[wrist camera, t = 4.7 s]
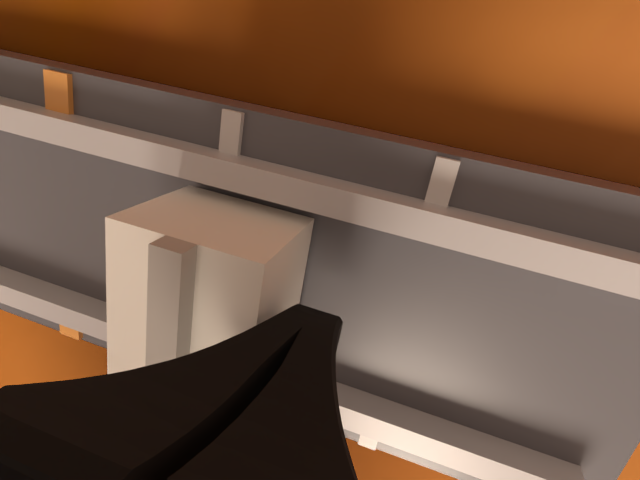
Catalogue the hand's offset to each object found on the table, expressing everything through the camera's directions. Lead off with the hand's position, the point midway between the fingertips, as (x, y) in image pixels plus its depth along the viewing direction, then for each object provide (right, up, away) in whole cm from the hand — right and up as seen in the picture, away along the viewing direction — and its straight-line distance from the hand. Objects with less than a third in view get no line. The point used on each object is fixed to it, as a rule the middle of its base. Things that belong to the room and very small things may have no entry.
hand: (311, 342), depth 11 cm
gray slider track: (-3, +2, +4) cm, 6 cm away
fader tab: (-2, +2, +3) cm, 4 cm away
